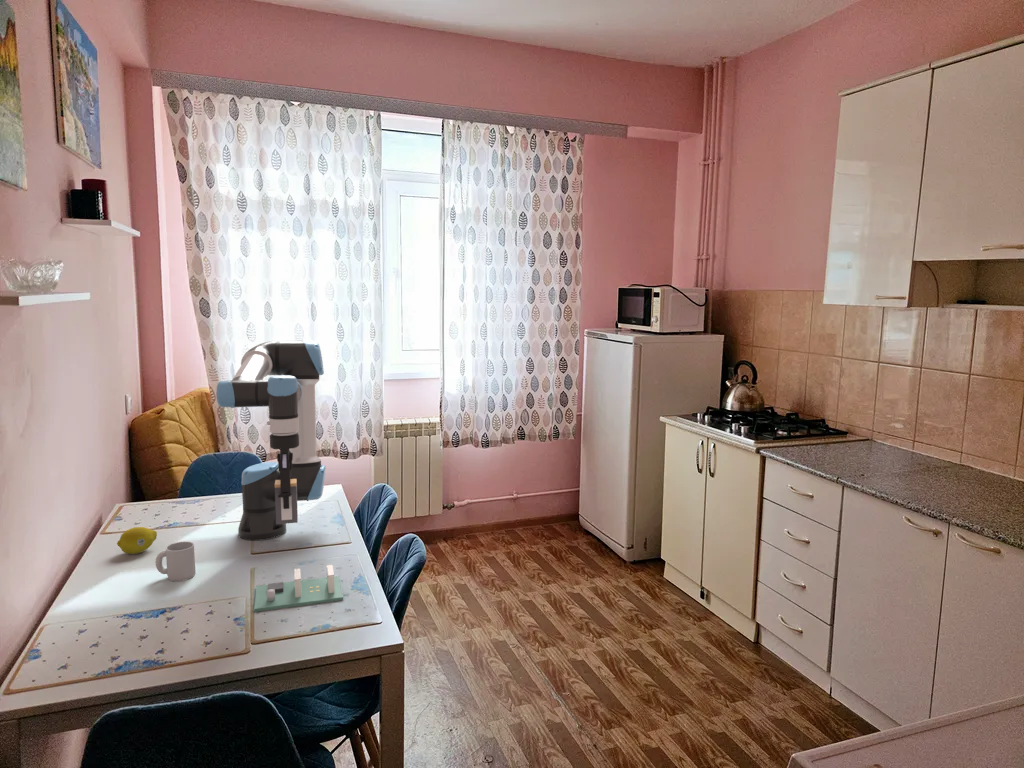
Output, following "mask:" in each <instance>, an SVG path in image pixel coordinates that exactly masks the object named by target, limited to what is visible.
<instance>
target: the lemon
mask: <svg viewBox="0 0 1024 768" xmlns="http://www.w3.org/2000/svg"><path fill="white" fill-rule="evenodd" d="M157 536H158V532H157V531H156V530H155V529H151V528H148V527H144V526H136V527H131V528H129V529H125V531H123V533H122V534H121V535H120V539H119V540H117V543H116V545H117V546H118V547H119V548H120V549H121V551H122V552H123V553H125V554H128V555H136V554H140V553H144V552H145V551H146V550H148V549H149V548H150V547H151V546H152V545H153V543H154V542H155V541H156V540H157Z"/></svg>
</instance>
